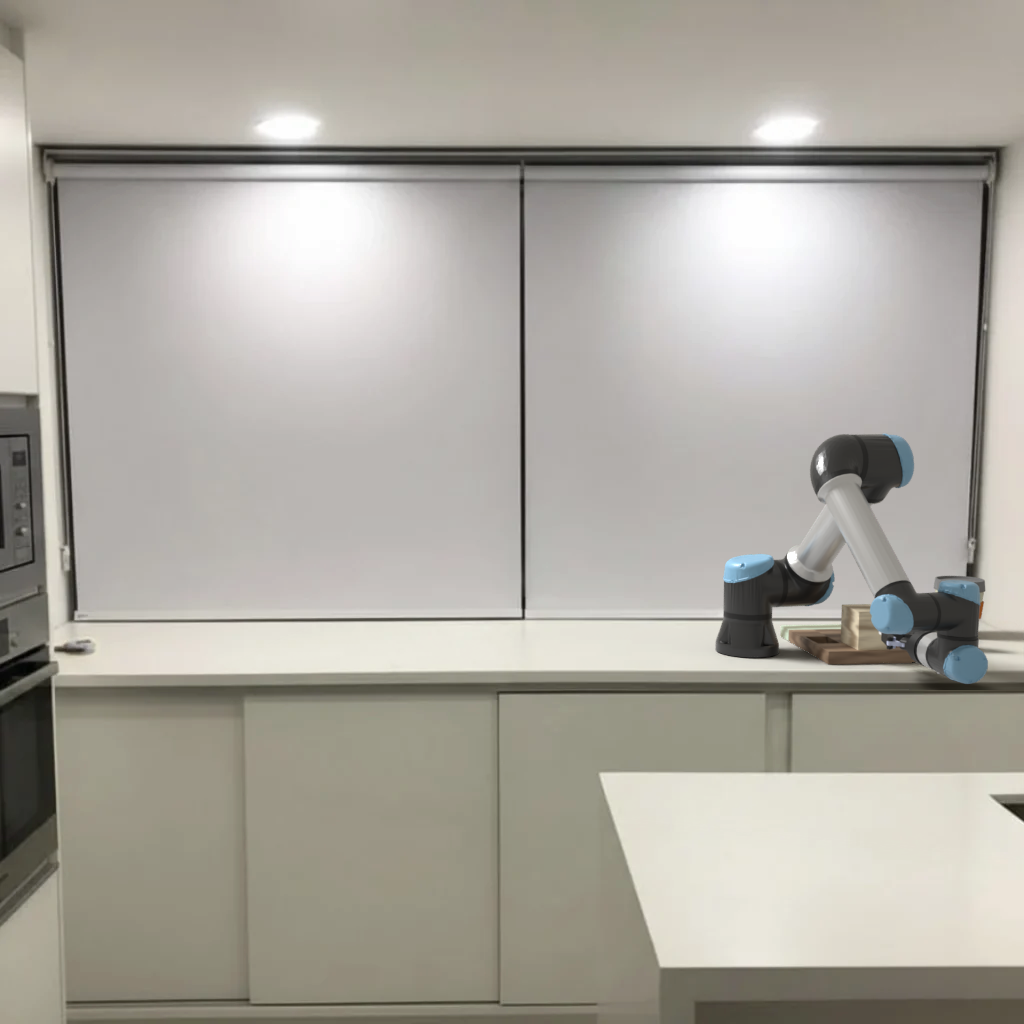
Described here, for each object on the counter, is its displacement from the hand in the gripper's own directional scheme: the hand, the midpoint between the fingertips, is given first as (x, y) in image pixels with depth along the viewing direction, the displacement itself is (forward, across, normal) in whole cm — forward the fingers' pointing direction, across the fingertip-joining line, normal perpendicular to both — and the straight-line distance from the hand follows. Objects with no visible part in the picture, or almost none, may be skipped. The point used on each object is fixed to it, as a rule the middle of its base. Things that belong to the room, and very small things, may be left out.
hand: (882, 628), depth 240 cm
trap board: (+19, 0, -9) cm, 21 cm away
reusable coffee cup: (+33, +36, -9) cm, 50 cm away
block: (+9, 0, -6) cm, 11 cm away
